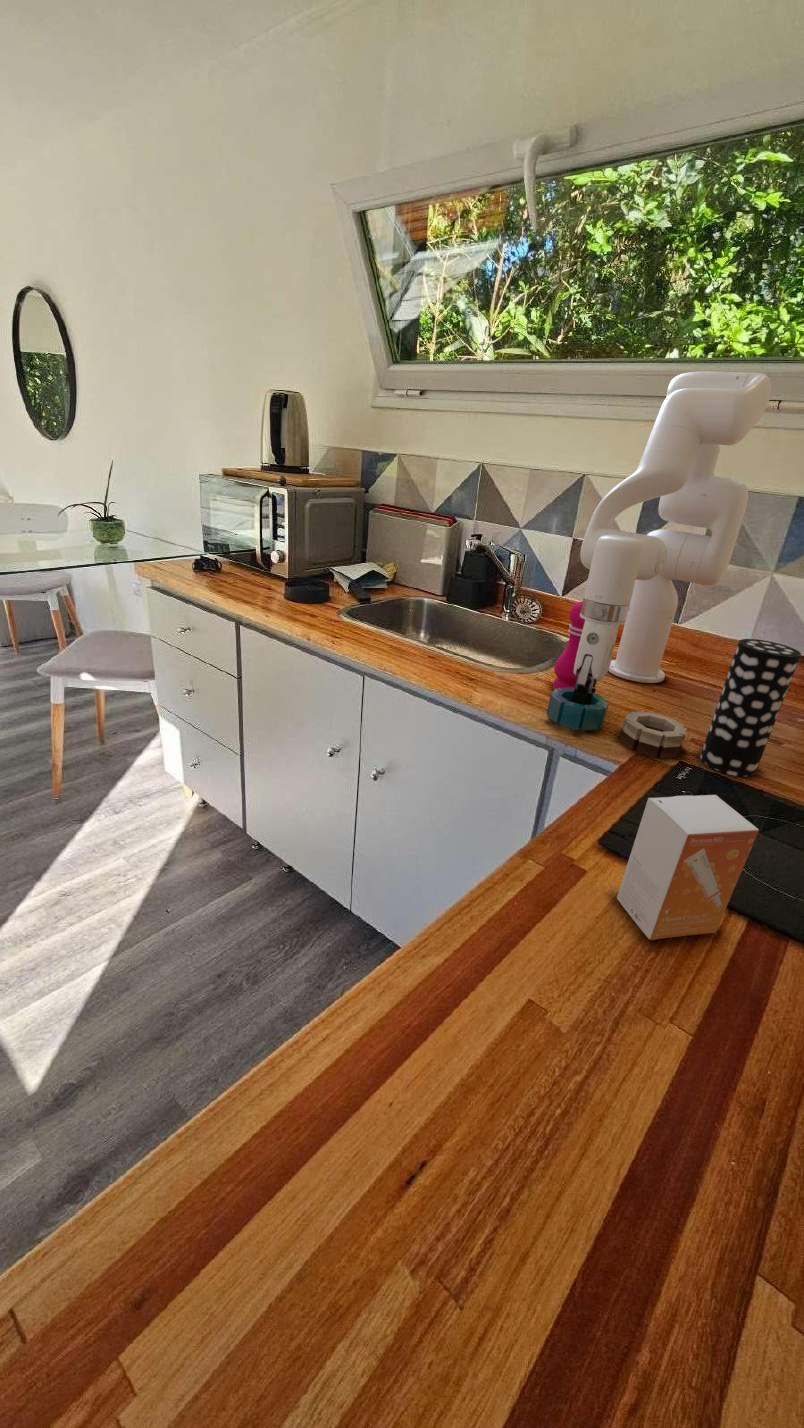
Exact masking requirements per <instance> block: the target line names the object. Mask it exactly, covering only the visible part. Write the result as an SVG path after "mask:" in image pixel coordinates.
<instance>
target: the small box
mask: <svg viewBox="0 0 804 1428" xmlns="http://www.w3.org/2000/svg"><path fill="white" fill-rule="evenodd" d="M759 831H760V829H759V828H758V827H757V826H755V825H754V824H753V823H752V822H750V821H749V820H748V819H746V818H745V817H744V816H743V815H741V814H740V813H739V812H738V811H737V810H735V809H734V808H733V807H732V806H730V805H729V804H728V803H727V802H726V801H724V800H723V799H721V797H719V796H718V795H717V794H705V795H704V794H703V795H701V794H700V795H675V796H663V797H662V796H661V797H648V798H647V801H646V803H645V808H644V811H643V813H642V817H641V820H640V823H639V826H638V829H637V832H636V836H635V839H634V841H633V845H632V848H631V852H630V855H629V858H628V860H627V861H628V862H627V864H626V867H625V871H624V873H623V876H622V880H621V883H620V886H619V889H618V892H617V895H616V900H617V901H618V902H619V903H620V905H621V906H622V908H623V909H624V910H625V911H626V913H627V914H628V916H629V917H630V918H631V919H632V920H633V921H634V923H635V924H636V925H637V927H638V928H639V930H641V932H642V933H643V934H644V935H645V936H646V938H647V939H648V940H649V941H656V940H661V939H668V938H669V939H670V938H679V937H685V936H697V935H706V934H716V932H717V931H718V928H719V926H720V923H721V921H722V919H723V917H724V914H725V911H726V909H727V907H728V904H729V903H730V900H731V898H732V895H733V893H734V890H735V888H736V886H737V883H738V881H739V878H740V877H741V874H742V872H743V869H744V867H745V865H746V862H747V859H748V858H749V855H750V852H751V851H752V848H753V845H754V843H755V841H756V839H757V836H758V834H759Z"/></svg>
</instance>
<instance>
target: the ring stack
mask: <svg viewBox="0 0 804 1428" xmlns="http://www.w3.org/2000/svg"><path fill="white" fill-rule="evenodd" d="M687 730H688V728H687V727H686V725H684V724H682V723H681V722H679V721H678V720H676V719H674V718H670V717H669V716H667V715H663V714H659V713H655V712H653V711H649V712H647V711H645V710H643V711H630V712H627V713H626V716H625V718H624V721H623V724H622V727H621V732H620V736H619V741H620V743H622V744H623V745H624V746H625V747H627V748H628V749H629V750H631V751H635V753H638V754H641V755H645V756H647V757H652V758H654V759H655V758H657V757H658V758H659V759H672V758H673V759H675V758H677V757H679V756H680V753H681V750H682V747H683V744H684V741H685V737H686V735H687V732H688V731H687Z"/></svg>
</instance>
